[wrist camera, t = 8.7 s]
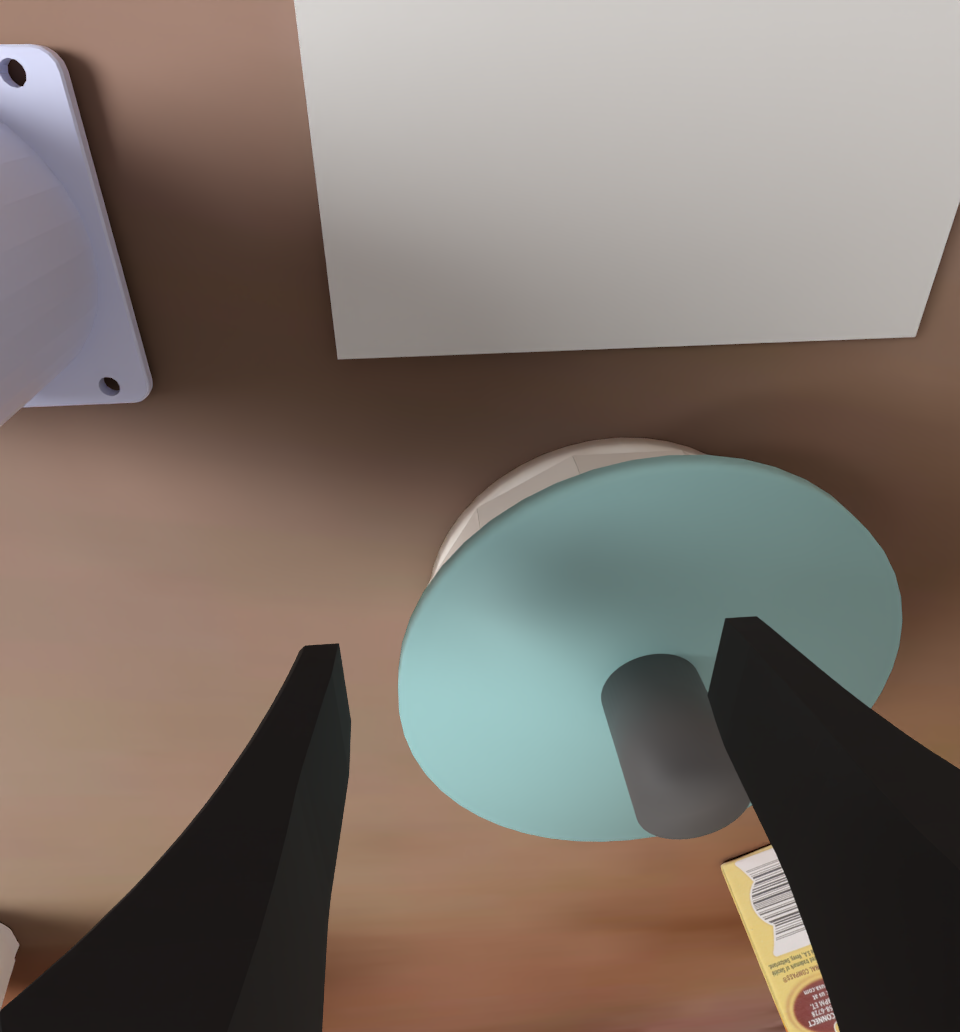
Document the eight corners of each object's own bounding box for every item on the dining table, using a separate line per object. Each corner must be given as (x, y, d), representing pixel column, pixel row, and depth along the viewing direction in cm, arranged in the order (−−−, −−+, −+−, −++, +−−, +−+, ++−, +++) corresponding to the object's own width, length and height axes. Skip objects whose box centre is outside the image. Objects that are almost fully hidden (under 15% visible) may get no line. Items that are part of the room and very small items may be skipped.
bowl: (436, 724, 28) (441, 829, 24) (419, 446, 21) (422, 531, 17) (737, 702, 28) (788, 800, 25) (810, 428, 22) (894, 504, 18)
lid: (390, 823, 23) (387, 966, 20) (410, 439, 16) (411, 553, 12) (790, 816, 25) (855, 947, 21) (974, 468, 18) (1124, 575, 14)
